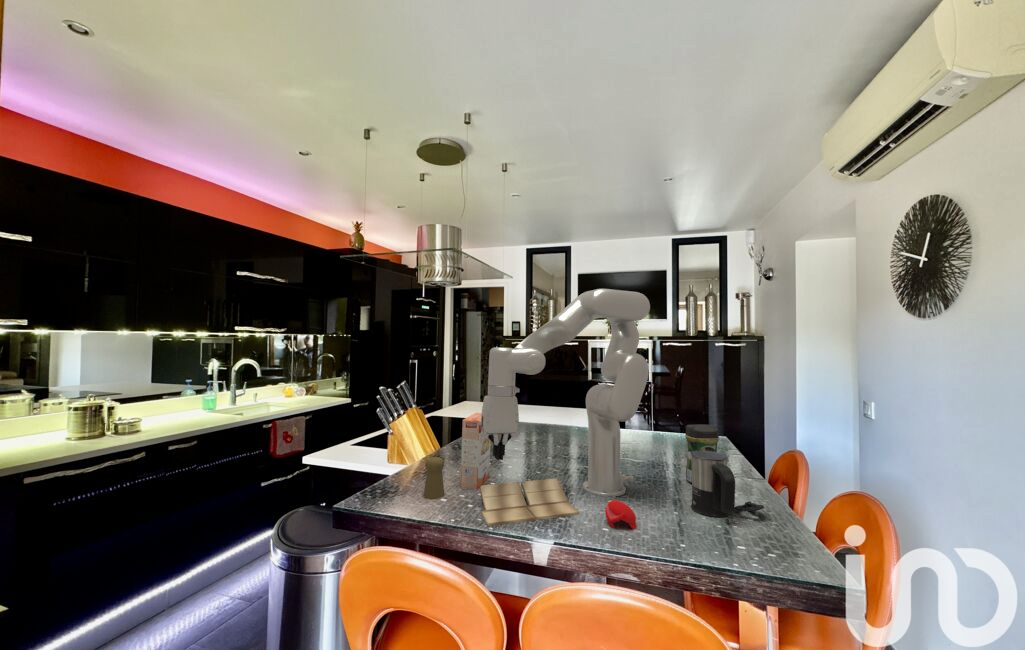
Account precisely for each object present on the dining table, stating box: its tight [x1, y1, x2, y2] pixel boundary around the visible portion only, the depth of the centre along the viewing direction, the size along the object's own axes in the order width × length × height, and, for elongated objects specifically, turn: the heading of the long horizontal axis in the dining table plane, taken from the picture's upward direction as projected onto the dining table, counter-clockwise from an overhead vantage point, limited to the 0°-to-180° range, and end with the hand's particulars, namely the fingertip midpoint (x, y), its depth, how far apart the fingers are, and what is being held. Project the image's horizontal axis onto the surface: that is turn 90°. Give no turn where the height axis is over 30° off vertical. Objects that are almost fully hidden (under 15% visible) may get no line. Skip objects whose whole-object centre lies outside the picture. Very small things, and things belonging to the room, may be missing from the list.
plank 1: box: [479, 481, 528, 511], centre depth 108 cm, size 11×8×1 cm
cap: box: [604, 499, 638, 531], centre depth 97 cm, size 8×6×6 cm
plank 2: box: [520, 477, 569, 506], centre depth 112 cm, size 11×8×1 cm
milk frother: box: [690, 451, 765, 518], centre depth 107 cm, size 14×16×15 cm
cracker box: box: [459, 412, 491, 491], centre depth 126 cm, size 14×6×21 cm, turn 168°
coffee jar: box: [684, 423, 720, 484], centre depth 129 cm, size 10×8×19 cm
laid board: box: [480, 500, 580, 527], centre depth 102 cm, size 24×7×1 cm, turn 108°
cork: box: [423, 456, 445, 500], centre depth 114 cm, size 6×6×11 cm
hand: (498, 458), depth 111 cm, fingers closed
